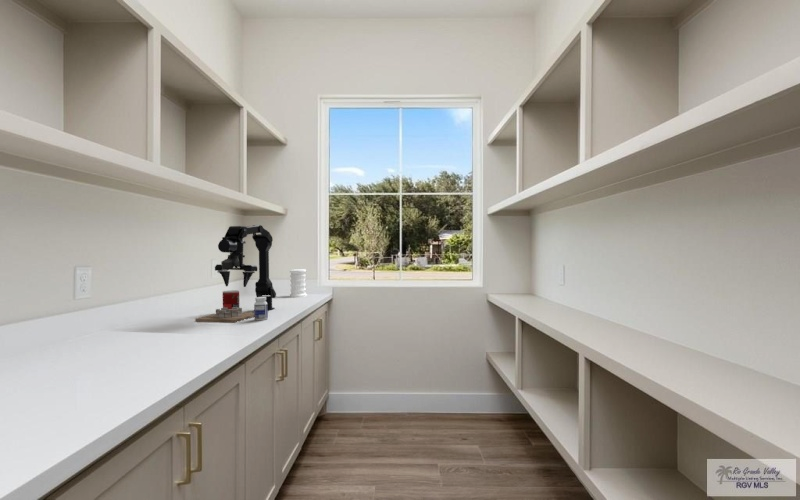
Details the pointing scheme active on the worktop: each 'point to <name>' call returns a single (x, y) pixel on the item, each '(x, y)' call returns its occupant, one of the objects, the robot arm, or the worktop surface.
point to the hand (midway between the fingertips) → (235, 286)
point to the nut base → (230, 319)
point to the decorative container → (298, 283)
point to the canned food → (230, 299)
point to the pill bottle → (261, 308)
